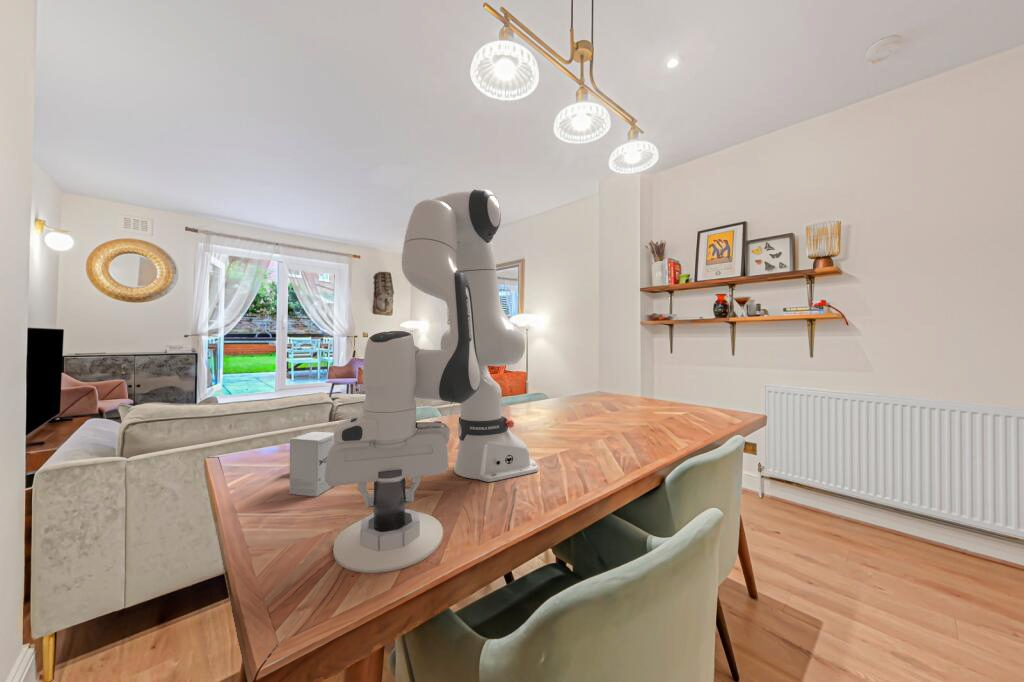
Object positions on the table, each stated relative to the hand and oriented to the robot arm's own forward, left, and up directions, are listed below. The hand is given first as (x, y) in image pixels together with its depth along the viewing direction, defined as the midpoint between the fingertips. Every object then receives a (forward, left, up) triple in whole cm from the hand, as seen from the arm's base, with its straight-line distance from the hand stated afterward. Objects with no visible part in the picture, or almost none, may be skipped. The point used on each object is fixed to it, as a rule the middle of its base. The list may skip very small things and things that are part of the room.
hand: (389, 503), depth 65 cm
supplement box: (+16, -29, -7) cm, 34 cm away
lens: (0, 0, -4) cm, 4 cm away
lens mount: (0, 0, -7) cm, 7 cm away
